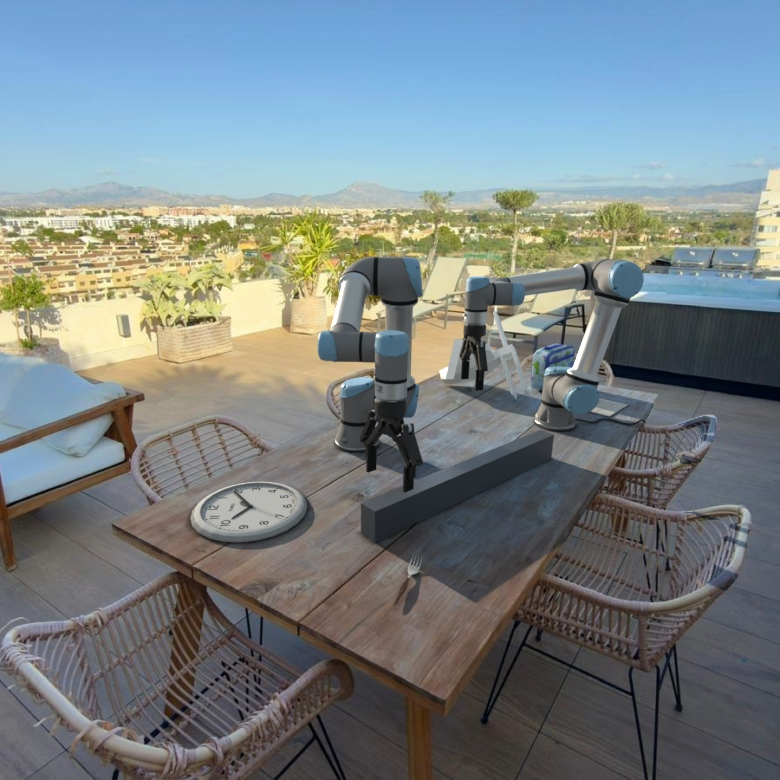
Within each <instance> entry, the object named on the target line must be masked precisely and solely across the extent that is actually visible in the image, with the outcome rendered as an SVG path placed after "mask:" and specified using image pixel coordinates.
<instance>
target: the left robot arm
mask: <svg viewBox="0 0 780 780" xmlns="http://www.w3.org/2000/svg"><path fill="white" fill-rule="evenodd" d="M421 269H422V268H421V263H420V260H419V259H417V258H415V257H407V256H367V257H366V256H365V257H363V258H360V259H357V260H355V262H353V263H351V264H350V265H349V266H348V267H346V268H345V270H344V271H343V272H342V274H341V275H340V277H339V281H338V285H337V289H338V293H339V295H338V298H337V302H336V306H335V310H334V315H333V317H332V321H331V326H330V329H327V330H322V331H320V332H319V333H318V337H317V356H318V358H319V359H320V360H321V361H323V362H333V363H374V378H373V377H369V376H359V377H354V378H349V379H347V380H345V381H343V382H342V383H341V384H340V388H339V389H340V390H339V393H340V394H339V400H340V401H339V405H340V406H339V407H340V408H339V409H340V410H339V411H338V415H339V416H340V417H339V418H340V423H339V427H338V429H337V433H336V435H335V441H334V442H335V446H336V447H337V448H338V449H339V450H342V451H345V452H350V453H363V452H365V454H364V456H365V458H366V463H365V464H366V465H365V467H366V470H365V472H366V473H368V474H369V473H371V472H374V471H377V460H378V459H377V453H378V451H377V450H378V447H379V446H380V437H382V435H385V436H387V437H389V438H391V440H392V441H393V442H395V444H396V446H397V449H398V451H399V453H400V455H401V457H402V459H403V462H404V463H405V465H403V473H402V474H403V477H402V486H403V492H408V491H410V490H413V488H414V481H415V479H416V473H417V468H418V467H421V466H422V465H423V464H424V461H423V458H422V454H421V450H420V448H419V444H418V441H417V436H416V434H415V425H414V423H413V422H410V423H405V419H411V418H413V417H414V416H415V415H416V412H417V409H418V408H417V407H418V402H419V394H420V385H419V384H418V383H416V378H414V376H413V375H412V349H413V347H412V346H413V319H414V318H413V315H414V311H413V310H414V307H415V306H416V305H417V304H418V303H419V298H422V297H423V296H424V293H423V292H424V290H423V280H422V270H421ZM369 296H374V297H380V303H381V304H382V305H383V306H384V308H385V319H384V320H385V323H384V324H385V326H384V327H385V329H384V330H381V331H361V327H362V321H363V316H364V310H365V304H366V299H367V298H368V297H369Z"/></svg>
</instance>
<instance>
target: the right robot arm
mask: <svg viewBox="0 0 780 780" xmlns="http://www.w3.org/2000/svg"><path fill="white" fill-rule="evenodd" d="M644 276H645V275H644V273H643V270H642V269H641V267H640V266H639V265H638V264H636V263H635V262H632V261H630V260H629V261H628V260H625V259H615V258H614V259H612V258H602V259H596V260H592V261H586V262H582V263H581V262H580V263H576V264H575V265H573V267H567V268H560V269H553V270H546V271H540V272H539V271H538V272H531V273H525V274H519V275H518V274H517V275H511V276H506V277H504V276H503V277H499V278H497V277H496V278H495V277H489V276H484V275H481V276H480V275H476V276H475V275H472V276H469V277H467V278H466V281H465V290H464V292H465V295H464V313H463V314H462V316H463V322H464V324H463V331H462V333H463V334H462V335H463V338H462V339H463V343H462V347H461V351H460V355H459V357H460V358H461V361H462V365H461V379H469V364H470V361H467V360H470V356H471V353H472V354H474V358H475V363H476V367H477V370H476V371H475V372H476V378H475V383H474V391H477V392H478V391H484V384H485V377H484V372H485V371H488V367H487V358H486V350H485V344H486V341H482V337H486V335H487V322H488V307H492V306H501V307H503V306H504V307H505V306H508V307H514V306H521V305H523V303H524V301H525V298H526V296H527V297H528V296H534V295H540V294H548V293H555V292H561V291H569V290H575V291H578V292H582V291H594V293H593V298H594V300H595V304H594V307H593V309H592V311H591V314H590V318H589V320H588V323H587V326H586V329H585V332H584V334H583V337H582V340H581V342H580V345H579V348H578V351H577V354H576V357H575V358H574V365H573V367H572V368H571V367H548V368H546V370H545V373H544V381H543V390H541V391H542V394H541V402H540V405H539V407H538V410H537V411H536V413H535V415H534V416H535V417H534V424H535V425H536V426H537V427H539V428H542V429H544V430H549V431H556V432H567V431H572V430H574V429H575V428H576V421H577V422H583V423H587V424H596V423H598V422H600V421H610V422H611V421H612V422H615V423H618V424H621V425H626V426H634V425H637V424H638V423H640V422H643V423H645V424H646V423H647V421H645V420H644V419H639V420H637V421H634V422H624V421H621V420H617V419H614V418H610V417H601V418H598V419H597V420H593V421H591V420H586V419H581V418H575V417H576V416H575V415H586V414H588V413H591V412H590V411H592V410H593V409H594V408H595V407H596V406H597V404H598V402H599V399H600V398H601V396H600V395H601V394H600V393H599V392H600V391H599V390H598V386H599V384H600V380H601V379H600V378H599V376H598V374H599V370H600V368H601V365H602V363H603V360H604V358H605V354H606V352H607V350H608V347H609V344H610V341H611V340H612V339H611V338H612V335H613V333H614V330H615V327H616V326H617V322H618V321H619V320H618V319H619V318H620V314H621V312H622V309H623V308H625V307H627V306H629V304H630V301H631V298H632V297H635V296H636V295H638V294H639V293H640V291H641V290H642V288H643V285H644V282H645V277H644Z"/></svg>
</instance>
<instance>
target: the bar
mask: <svg viewBox="0 0 780 780" xmlns="http://www.w3.org/2000/svg"><path fill="white" fill-rule="evenodd" d="M554 438H555V434H554V433H551V432H548V431H545V430H542V429H538V430H536V431H533V432H531V433H529V434H526V435H524V436H521V437H519V438H517V439H514V440H512V441H509V442H507V443H504V444H502V445H499V446H497V447H495V448H491V449H490V450H487V451H485V452H483V453H480V454H478V455H474V456H472V457H469V458H467V459H465V460H463V461H460V462H457V463H454V464H453V465H450V466H447V467H445V468H443V469H440V470H438V471H435V472H433V473H431V474H428V475H427V476H423V477H421V478H419V479H416V480H414V488H413V490H410V491H408V492H403V485H401V486H399V487H397V488H394V489H392V490H388V491H387V492H384V493H382V494H379V495H376V496H375V497H372V498H369V499H367V500H365V501H362V502H360V534H361V535H362V536H364V537H365V538H367V539H368V540H369V541H371V542H372V543H373V544H375V543H377V542H380V541H382V540H384V539H386V538H388V537H391V536H393V535H394V534H396V533H399V532H400V531H402V530H405V529H407V528H409V527H411V526H413V525H415V524H418V523H420V522H421V521H423V520H426V519H428V518H430V517H432V516H434V515H436V514H438V513H440V512H442V511H445V510H447V509H449V508H451V507H453V506H454V505H457V504H459V503H461V502H464V501H466V500H468V499H470V498H472V497H474V496H475V495H478V494H479V493H482V492H485V491H486V490H489V489H490V488H492V487H495V486H497V485H500V483H503V482H505V481H507V480H509V479H511V478H514V477H515V476H517V475H520V474H522V473H523V472H526V471H528V470H530V469H532V468H534V467H536V466H538V465H541V464H542V463H544V462H547V461H549V460H551V459H552V456H553V448H554Z"/></svg>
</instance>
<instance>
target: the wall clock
mask: <svg viewBox="0 0 780 780" xmlns="http://www.w3.org/2000/svg"><path fill="white" fill-rule="evenodd" d="M307 503H308V502H307V499H306V498H305V496H304V495H303V493H301V492H300V491H298V490H297V489H295V488H294V487H291V486H289V485H286V484H283V483H280V482H279V483H278V482H272V481H249V482H248V481H247V482H242V483H238V484H232V485H229V486H226V487H223V488H220V489H218V490H216V491H213V492H211V493H210V494H208V495H207V496H205V497H204V498H202V499H201V500H200V501H199V502H198V503H197V504H196V505H195V507H194V508H193V509H192V511H191V515H190V523H191V526H192V528H193V529H194V531H196V532H197V533H198V534H199V535H201V536H203V537H205V538H208V539H210V540H214V541H218V542H222V543H239V544H240V543H249V542H256V541H262V540H265V539H269V538H274V537H276V536H278V535H280V534H282V533H286V532H287V531H289V530H290V529H292V528H293V527H295V526H296V525H298V524H299V523H300V522H301V521H302V519H303V518H304V517H305V516H306V513H307V510H308V504H307Z"/></svg>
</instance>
